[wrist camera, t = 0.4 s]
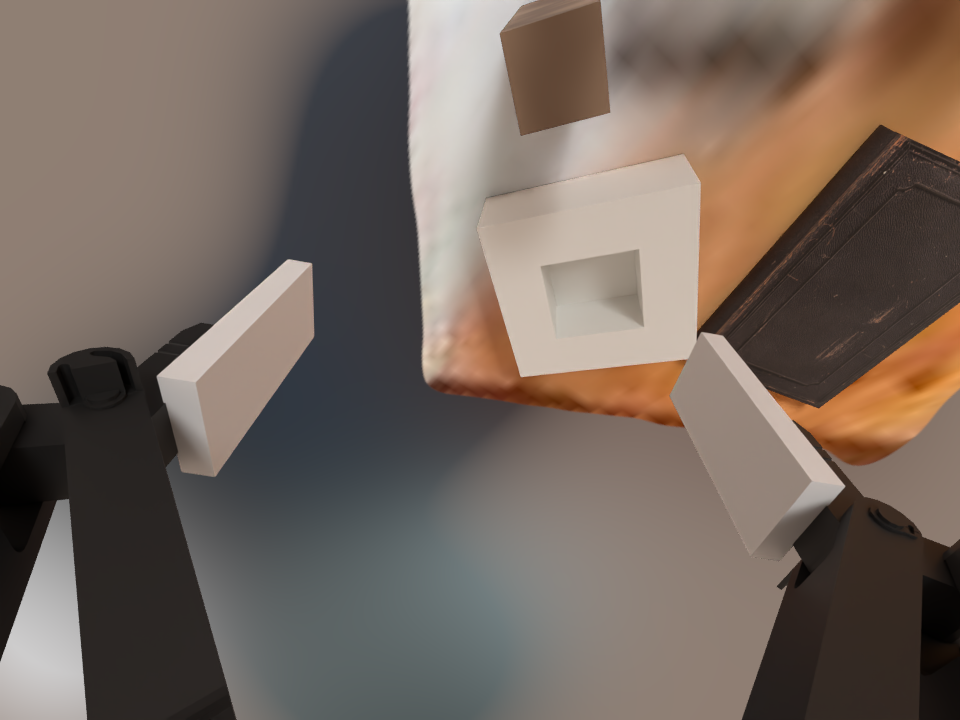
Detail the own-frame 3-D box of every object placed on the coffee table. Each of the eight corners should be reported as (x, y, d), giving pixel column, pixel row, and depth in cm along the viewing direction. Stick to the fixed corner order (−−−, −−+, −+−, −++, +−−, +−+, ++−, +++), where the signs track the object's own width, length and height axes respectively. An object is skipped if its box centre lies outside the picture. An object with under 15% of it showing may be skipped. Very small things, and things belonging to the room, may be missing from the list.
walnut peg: (587, -17, 30) (600, 0, 19) (595, 61, 32) (610, 112, 22) (521, 6, 31) (499, 33, 21) (534, 79, 34) (520, 135, 23)
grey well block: (683, 153, 36) (700, 182, 31) (683, 318, 45) (696, 358, 41) (486, 197, 40) (476, 228, 36) (524, 339, 50) (520, 377, 45)
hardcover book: (1050, 203, 35) (1076, 216, 33) (810, 393, 50) (819, 408, 48) (876, 121, 33) (893, 131, 31) (680, 345, 48) (685, 359, 47)
